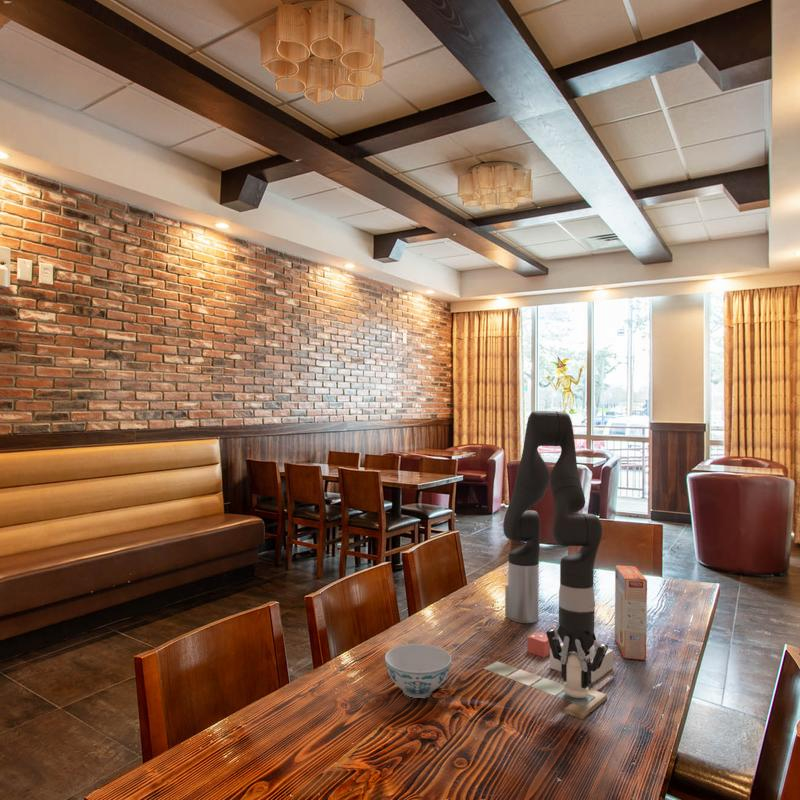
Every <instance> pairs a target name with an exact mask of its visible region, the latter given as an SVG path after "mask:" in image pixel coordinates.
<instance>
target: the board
mask: <svg viewBox="0 0 800 800" xmlns="http://www.w3.org/2000/svg"><path fill="white" fill-rule="evenodd" d="M483 670H486V671H488V672H491V673H494V674H496V675H498V676H501V677H504V678H505V677H506V678H507V679H509V680H513V682H514V681H515V682H517V683H520V684H523V685H526V686H527V687H531V688H533V689H535V690H539V691H541V692H543V693H546V694H549V695H552V696H554V697H557V698H559V699H561V700H565V701H567V702H570V703H569V704H567V705H566V706H565V707H563V708H562V709H561V710H560V712H562V711H563V713H564V712H565V713H564V714H566V715H569V714H570V715H569V716H572V717H574V716H575V718H577V717H578V718H577V719H579V718H580V719H579V720H583V719H584V718H586V717H587V716H588V715H589V714H590V712H591V713H592V712H593V711H594V710H595V709H596V708H598V707H599V706H600V705H602V703H604V702H605V701H606V700H607V699H608V698H607V695H608V694H606V693H604V692H601V691H598V690H596V689H592V688H588V696H587V697H584V698H575V697H571V696H569V695H567V694H565V693H564V684H561V683H560V682H557V681H554V680H551V679H548V678H546V677H543V678H542V676H540V675H537V674H534V673H531V672H529V671H526V670H523V669H519V668H517V667H515V666H512V665H510V664H508V663H504V662H502V661H498V660H497V661H495V662H493V663H491V664H489V665H488V666H485V667H483ZM586 715H587V716H586ZM585 716H586V717H585Z"/></svg>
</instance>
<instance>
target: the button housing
mask: <svg viewBox="0 0 800 800" xmlns="http://www.w3.org/2000/svg"><path fill="white" fill-rule="evenodd" d="M560 645H561V648H563V642H560ZM592 661H593V660H592ZM549 668H550V669H553V670H554V671H555V670H556V671H558V672H561V662H560V661H559V660H558V659H555V658H554V657H553V654H552V651H551V650H550V654H549ZM612 669H614V649H611V648H608V649H607V652H606V654H605V657H604V659H603V661H602V664H601V666H600V668H599V669H597V670H596V671H594V672H593V671H591V683H595V682H596V681H597V683H596V684H594V685H593V686H592V688H596V687H597V686H598V685H599V684H600V683H602V681H604V680H606V678H608V677H609V676H611V675H612V674H613V673H614V671H611V670H612ZM609 671H611V672H610V673H609V674H607V673H608V672H609ZM605 674H607V675H606V676H604V675H605ZM603 676H604V677H603ZM601 677H603V678H602V679H601V680H600V681H598V680H599V679H600V678H601Z"/></svg>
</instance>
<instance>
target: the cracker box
mask: <svg viewBox="0 0 800 800" xmlns="http://www.w3.org/2000/svg"><path fill="white" fill-rule="evenodd" d="M614 569H615V572H614V573H615V576H614V577H615V579H614V581H615V584H614V585H615V586H614V587H615V588H614V590H615V591H614V608H615V609H614V640H615V642H616V644H617V647H618V648H619V649H618V650H619V652H621V655H622V657H623V659H627V660H637V661H638V660H639V661H647V619H648V618H647V616H648V615H647V613H648V612H647V611H648V610H647V607H648V604H647V601H648V580H647V578H645V576H644V575H643V574H642V572H640V570H639V569H638V568H637V567H636V566H634V565H633V566H632V565H615V568H614Z"/></svg>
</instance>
